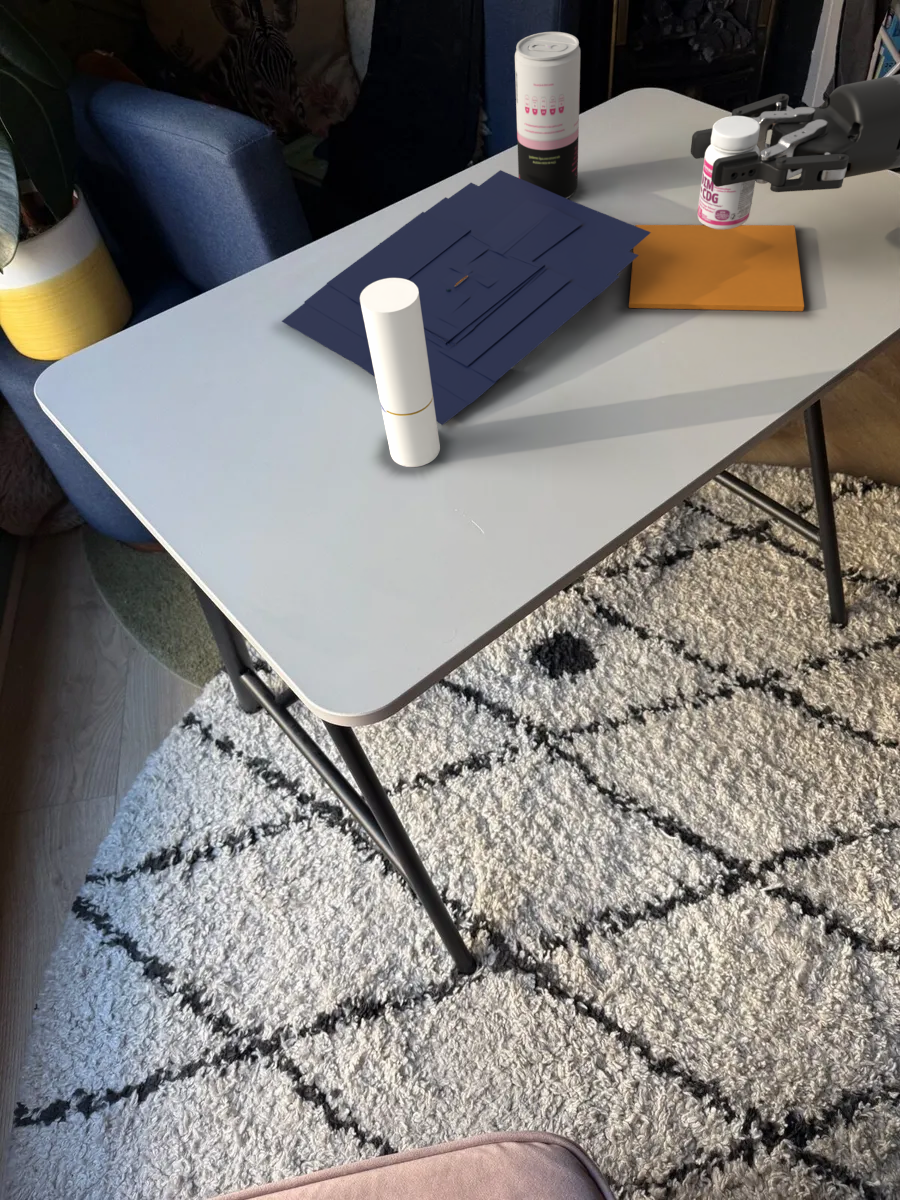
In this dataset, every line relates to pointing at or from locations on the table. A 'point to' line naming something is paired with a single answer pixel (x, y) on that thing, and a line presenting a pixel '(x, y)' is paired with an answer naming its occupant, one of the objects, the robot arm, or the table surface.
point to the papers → (479, 282)
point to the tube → (401, 369)
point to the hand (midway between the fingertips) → (703, 159)
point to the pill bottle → (733, 200)
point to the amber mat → (717, 268)
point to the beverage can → (548, 110)
